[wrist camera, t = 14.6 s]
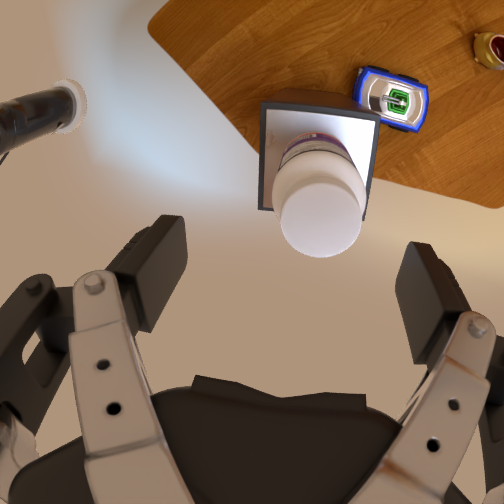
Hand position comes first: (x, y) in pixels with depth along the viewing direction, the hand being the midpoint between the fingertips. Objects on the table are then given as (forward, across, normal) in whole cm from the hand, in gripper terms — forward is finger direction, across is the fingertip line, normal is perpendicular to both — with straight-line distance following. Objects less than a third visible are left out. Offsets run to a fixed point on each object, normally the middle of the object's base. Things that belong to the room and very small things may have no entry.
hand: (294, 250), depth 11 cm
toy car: (+42, -14, -4) cm, 45 cm away
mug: (+42, -34, -18) cm, 57 cm away
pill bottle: (+14, -1, +1) cm, 14 cm away
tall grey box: (+42, -2, +1) cm, 42 cm away
